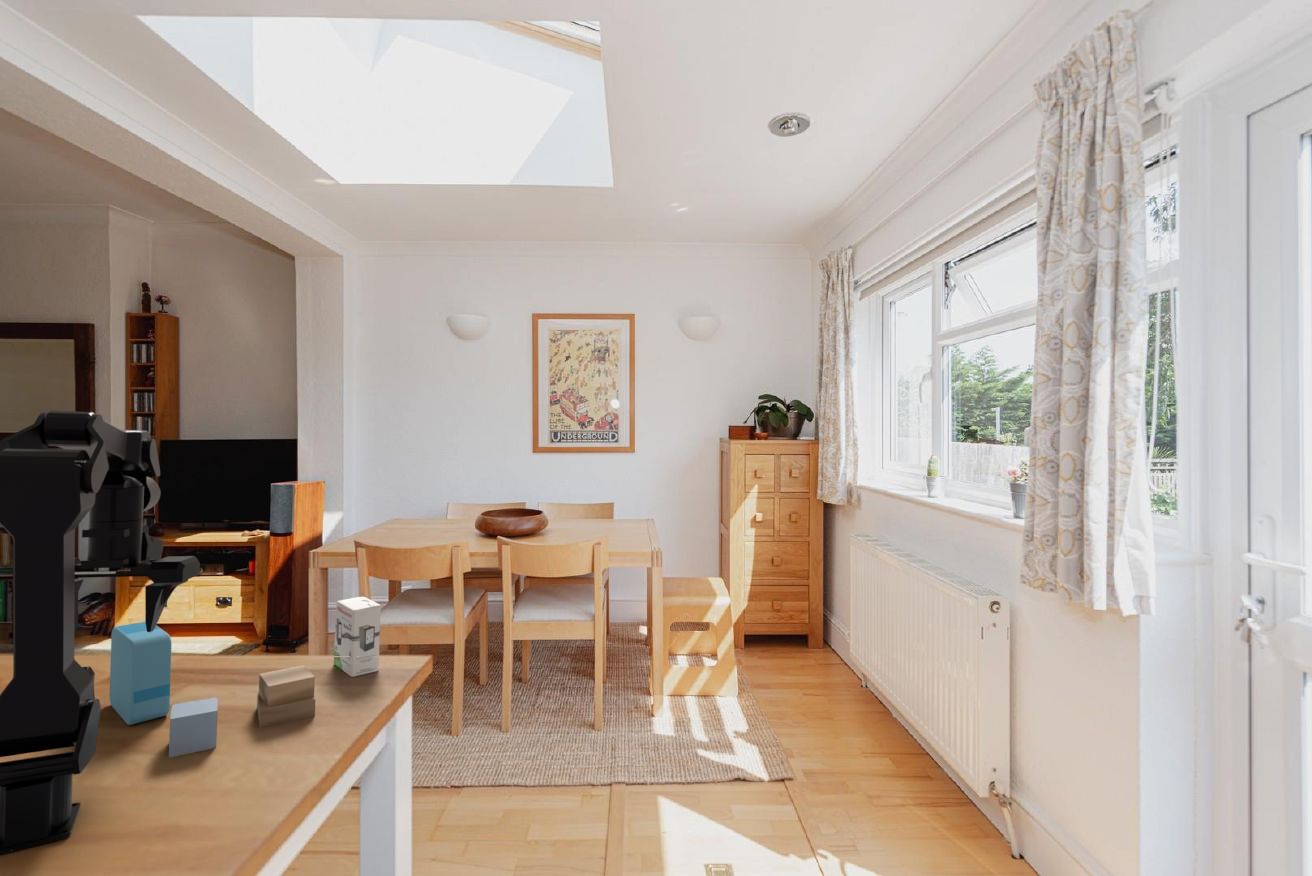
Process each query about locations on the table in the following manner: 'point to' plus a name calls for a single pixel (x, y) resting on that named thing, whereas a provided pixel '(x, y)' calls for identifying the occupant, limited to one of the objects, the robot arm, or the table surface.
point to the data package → (140, 672)
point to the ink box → (357, 636)
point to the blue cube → (193, 726)
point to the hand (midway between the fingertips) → (111, 632)
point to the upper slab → (286, 685)
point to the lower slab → (284, 711)
